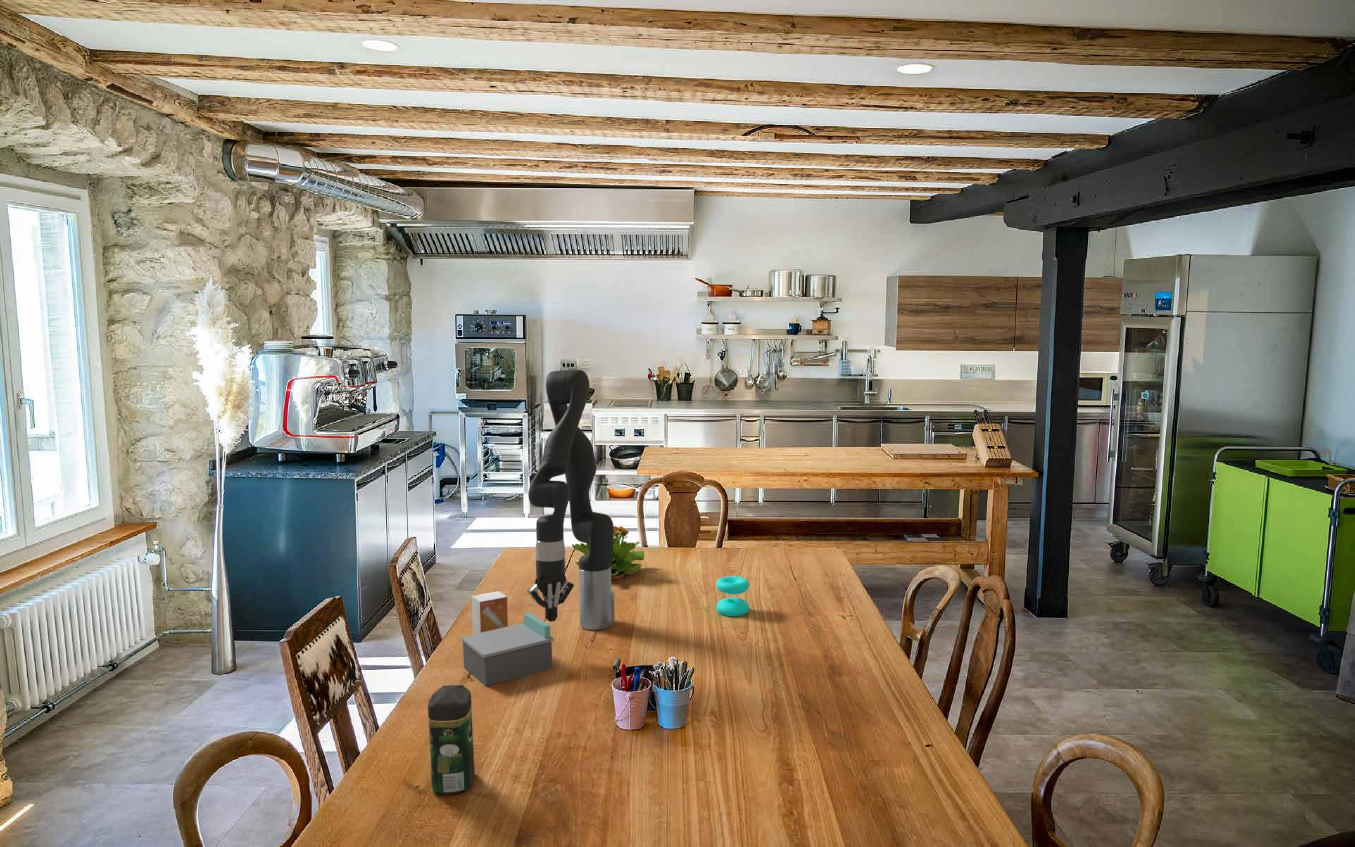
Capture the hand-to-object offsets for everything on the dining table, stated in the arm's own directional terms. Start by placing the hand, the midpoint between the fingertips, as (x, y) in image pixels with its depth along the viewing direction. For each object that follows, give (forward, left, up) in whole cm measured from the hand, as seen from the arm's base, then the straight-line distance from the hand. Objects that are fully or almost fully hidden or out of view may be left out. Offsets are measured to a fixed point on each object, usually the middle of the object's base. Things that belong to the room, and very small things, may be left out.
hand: (551, 620), depth 231 cm
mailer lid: (+13, 0, -3) cm, 13 cm away
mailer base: (+13, 0, -10) cm, 16 cm away
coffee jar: (+45, +45, -10) cm, 64 cm away
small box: (+9, -20, -10) cm, 24 cm away
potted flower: (-48, -52, -10) cm, 72 cm away
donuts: (-60, +1, -10) cm, 61 cm away
